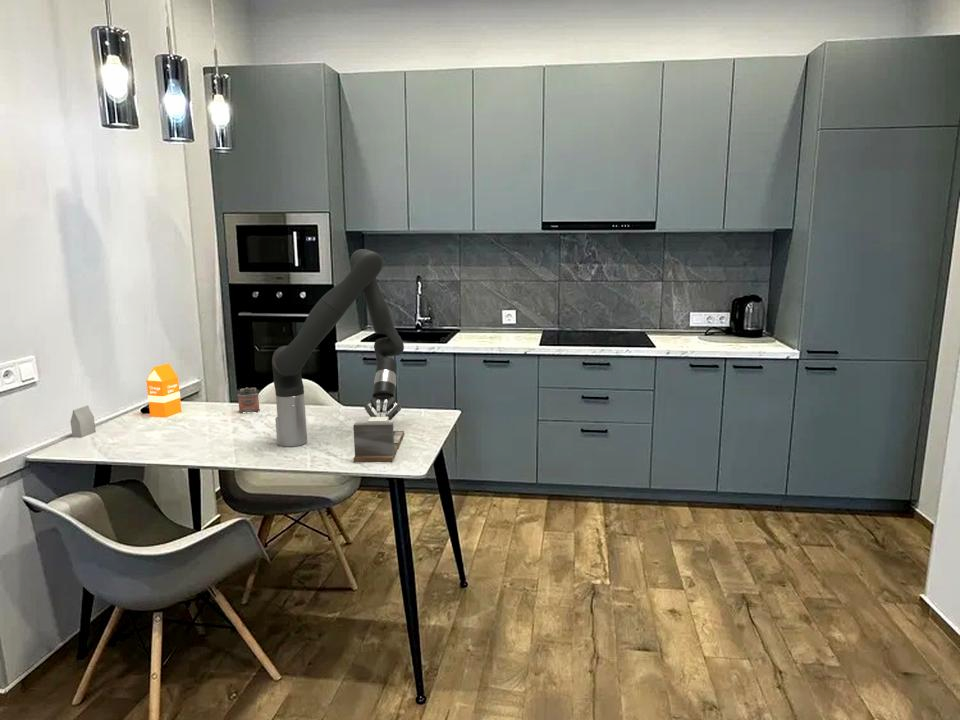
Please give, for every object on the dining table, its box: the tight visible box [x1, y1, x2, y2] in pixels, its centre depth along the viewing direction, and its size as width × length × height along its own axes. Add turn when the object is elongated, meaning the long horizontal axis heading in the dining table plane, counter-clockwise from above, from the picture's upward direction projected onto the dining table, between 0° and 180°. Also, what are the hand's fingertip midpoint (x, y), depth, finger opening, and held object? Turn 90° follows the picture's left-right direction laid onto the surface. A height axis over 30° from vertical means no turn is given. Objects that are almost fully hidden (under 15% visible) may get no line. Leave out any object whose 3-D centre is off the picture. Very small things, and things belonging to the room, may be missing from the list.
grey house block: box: [69, 405, 96, 439], centre depth 235 cm, size 4×7×10 cm, turn 169°
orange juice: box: [146, 363, 182, 418], centre depth 260 cm, size 8×9×20 cm
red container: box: [237, 387, 261, 414], centre depth 262 cm, size 8×3×10 cm, turn 101°
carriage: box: [367, 416, 398, 444], centre depth 213 cm, size 7×9×9 cm
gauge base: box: [352, 421, 405, 463], centre depth 216 cm, size 28×12×12 cm, turn 179°
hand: (380, 430), depth 217 cm, fingers closed
